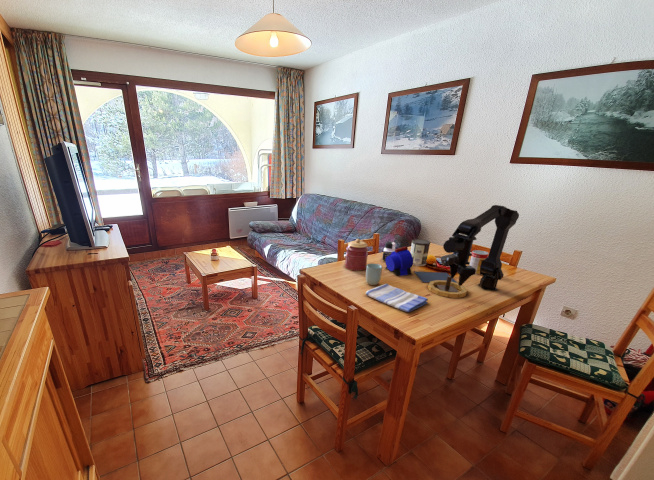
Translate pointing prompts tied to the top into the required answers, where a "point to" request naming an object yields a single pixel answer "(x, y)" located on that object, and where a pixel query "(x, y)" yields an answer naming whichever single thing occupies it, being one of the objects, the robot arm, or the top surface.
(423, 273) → the felt mat
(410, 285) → the top surface
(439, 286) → the peg stand
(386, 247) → the medicine bottle
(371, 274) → the cup
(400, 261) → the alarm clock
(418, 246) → the coffee can
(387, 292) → the dish towel
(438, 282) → the hoop
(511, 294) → the top surface
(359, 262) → the kitchen canister
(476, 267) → the canned food
